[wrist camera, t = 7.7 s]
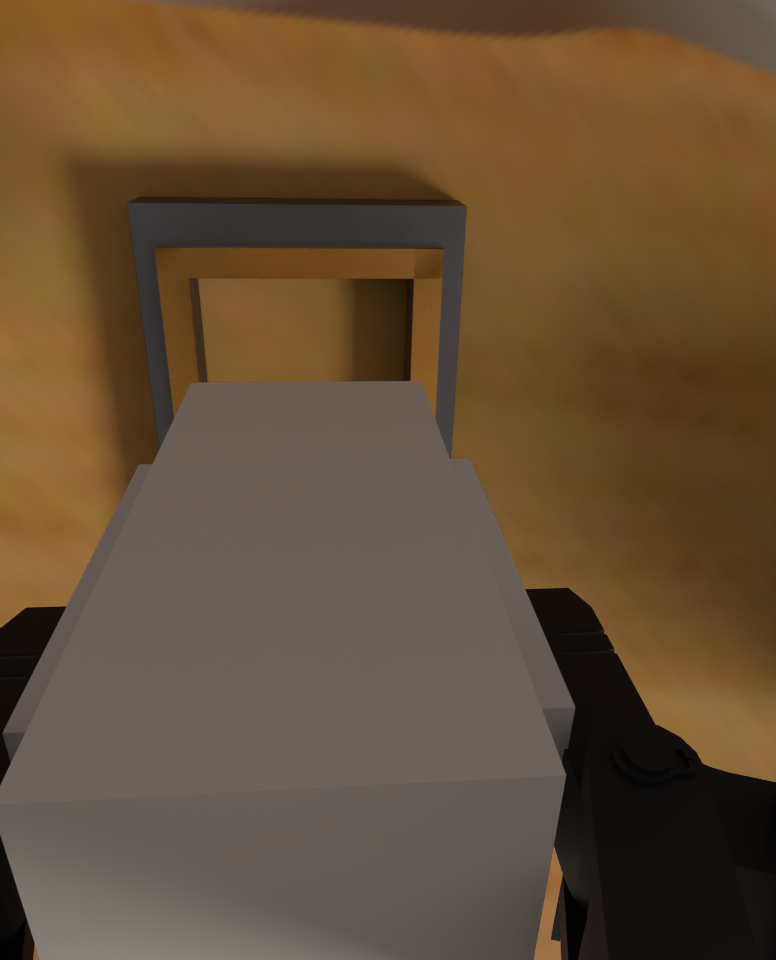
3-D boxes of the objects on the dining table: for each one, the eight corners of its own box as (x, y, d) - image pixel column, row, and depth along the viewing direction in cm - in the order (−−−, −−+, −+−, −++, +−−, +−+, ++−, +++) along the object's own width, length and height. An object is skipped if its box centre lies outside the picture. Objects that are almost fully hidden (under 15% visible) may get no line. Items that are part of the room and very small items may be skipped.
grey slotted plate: (208, 766, 30) (203, 800, 29) (139, 196, 21) (125, 203, 19) (425, 754, 31) (431, 787, 30) (457, 200, 21) (468, 207, 20)
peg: (211, 576, 17) (86, 1108, 8) (191, 382, 15) (-9, 805, 6) (413, 570, 17) (513, 1072, 8) (421, 381, 15) (565, 774, 6)
